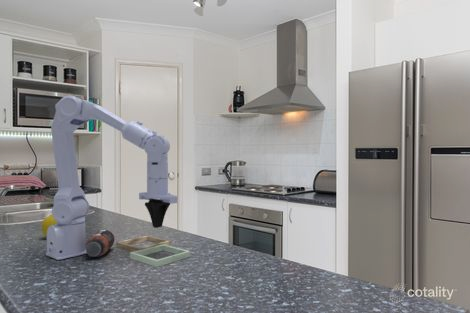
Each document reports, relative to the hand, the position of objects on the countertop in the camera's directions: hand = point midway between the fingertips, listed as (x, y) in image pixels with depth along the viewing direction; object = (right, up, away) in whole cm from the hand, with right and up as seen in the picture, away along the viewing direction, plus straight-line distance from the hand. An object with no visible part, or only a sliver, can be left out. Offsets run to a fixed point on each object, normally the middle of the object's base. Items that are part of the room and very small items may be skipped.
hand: (157, 227), depth 97 cm
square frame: (+1, -8, -2) cm, 8 cm away
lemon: (-40, -8, +19) cm, 45 cm away
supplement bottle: (-17, -5, +7) cm, 19 cm away
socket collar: (-6, -8, +9) cm, 14 cm away
